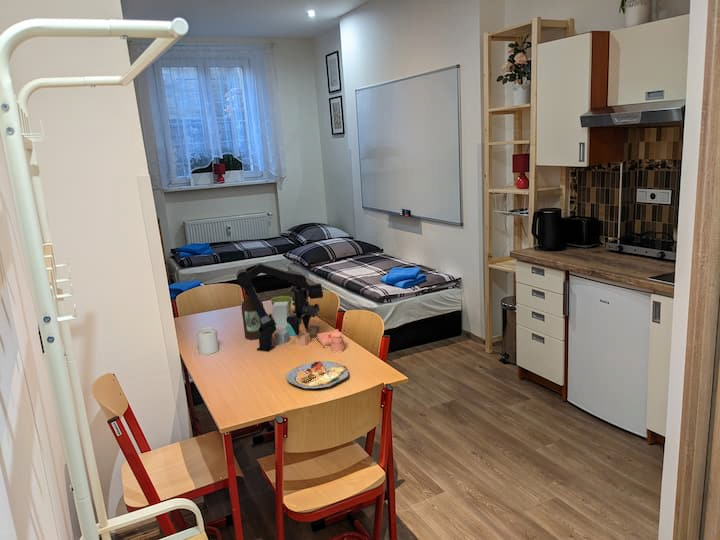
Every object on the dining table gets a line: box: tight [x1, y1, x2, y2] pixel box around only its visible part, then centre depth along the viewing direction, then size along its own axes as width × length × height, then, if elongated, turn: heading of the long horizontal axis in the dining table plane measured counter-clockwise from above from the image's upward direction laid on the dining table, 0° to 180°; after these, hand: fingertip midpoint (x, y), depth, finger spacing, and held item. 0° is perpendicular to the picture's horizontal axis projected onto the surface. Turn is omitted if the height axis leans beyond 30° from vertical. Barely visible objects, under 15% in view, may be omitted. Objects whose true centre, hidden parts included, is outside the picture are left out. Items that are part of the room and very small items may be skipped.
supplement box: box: [272, 302, 289, 330], centre depth 284 cm, size 7×7×13 cm
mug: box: [196, 327, 220, 355], centre depth 255 cm, size 11×10×10 cm
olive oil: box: [241, 286, 265, 341], centre depth 269 cm, size 11×11×25 cm
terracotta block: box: [294, 331, 311, 347], centre depth 259 cm, size 5×5×5 cm
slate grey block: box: [274, 329, 290, 345], centre depth 263 cm, size 5×5×5 cm
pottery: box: [316, 328, 346, 353], centre depth 255 cm, size 18×10×10 cm, turn 23°
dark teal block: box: [285, 324, 301, 337], centre depth 273 cm, size 5×5×5 cm
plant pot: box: [270, 295, 294, 316], centre depth 297 cm, size 12×12×11 cm
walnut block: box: [305, 324, 321, 339], centre depth 269 cm, size 5×5×5 cm
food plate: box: [285, 360, 350, 389], centre depth 221 cm, size 25×23×4 cm
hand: (302, 331), depth 258 cm, fingers open, 9 cm apart
